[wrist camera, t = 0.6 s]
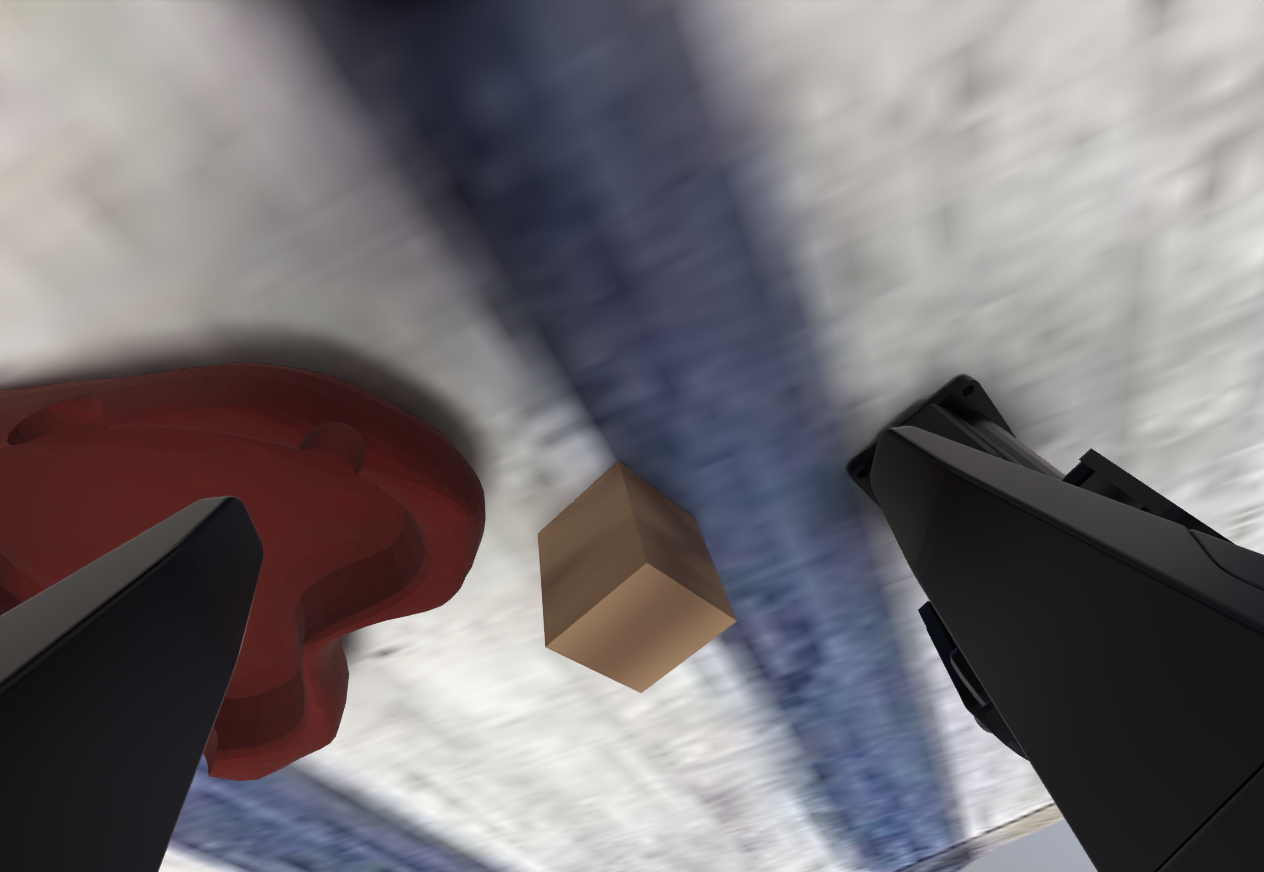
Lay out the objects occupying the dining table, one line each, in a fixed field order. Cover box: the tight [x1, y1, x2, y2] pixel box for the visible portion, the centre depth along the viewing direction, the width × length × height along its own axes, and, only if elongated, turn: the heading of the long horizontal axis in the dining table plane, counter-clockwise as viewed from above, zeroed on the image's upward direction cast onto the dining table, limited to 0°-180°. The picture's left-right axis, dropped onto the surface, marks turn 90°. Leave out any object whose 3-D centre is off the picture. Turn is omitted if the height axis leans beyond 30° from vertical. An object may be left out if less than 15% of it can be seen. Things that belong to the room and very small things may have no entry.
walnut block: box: [538, 461, 737, 693], centre depth 24 cm, size 5×5×6 cm
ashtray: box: [0, 362, 485, 781], centre depth 20 cm, size 18×16×5 cm
